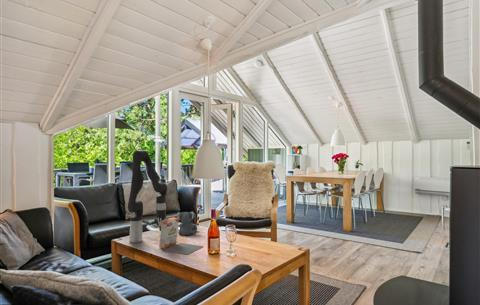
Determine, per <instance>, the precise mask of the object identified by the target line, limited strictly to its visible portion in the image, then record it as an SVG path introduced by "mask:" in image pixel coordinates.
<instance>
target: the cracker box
mask: <svg viewBox="0 0 480 305" xmlns="http://www.w3.org/2000/svg"><path fill="white" fill-rule="evenodd" d="M179 222H180V220H179V219H178V217H174V216H172V217H169V218H166V219H165V220H162V225H161V231H160V235H159V236H160V237H159V245H158V246H159V248H161V249H163V250H165V249H167V248H169V247H172V246H174V245H176V244H177V243H176V241H177V239H178V232H179V229H178V225H179V224H180V223H179Z"/></svg>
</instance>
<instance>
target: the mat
mask: <svg viewBox="0 0 480 305" xmlns="http://www.w3.org/2000/svg"><path fill="white" fill-rule="evenodd" d="M202 248H204V246H203V245H197V244H190V243H184V242H178V243H176V244H175V245H173V246H170V247H168V248H166V249H163V252H168V253H169V252H170V253H174V254H181V255H187V256H189V255H190V254H192V253H195V252H196V251H198V250H200V249H202Z"/></svg>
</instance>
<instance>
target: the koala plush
mask: <svg viewBox="0 0 480 305" xmlns="http://www.w3.org/2000/svg"><path fill="white" fill-rule="evenodd" d="M176 215H177V216H176V218H178V219H179V221H181V222H180V223H178V227H180V230H179V229H178V231H177V234H179V235H182V236H189V235H190V236H191V235H194V234H195V233H196V232H197V230H198V225H197V223H193V222H192V220H193V218H194V217H195V213H194V211H190V212H186V211H185V212H177V214H176Z"/></svg>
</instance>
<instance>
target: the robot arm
mask: <svg viewBox="0 0 480 305" xmlns="http://www.w3.org/2000/svg"><path fill="white" fill-rule="evenodd" d="M132 153H133V154H132V172H131V182H130V192H129V198H128V203H127V210H128V212H129V213H133V215H131V216H130V218H129V220H130V222H129V226H130V227H129V231H128V232H129V242H130V243H134V244H135V243H136V244H137V243H141V242H142V241H143V216H144V203H143V202H142V200H140V199H138V200H137V197H138V195H139V193H140V192H141V190H142V188H143V186H144V179H145V178H144V174H143V172H142V169H141V163H142V162H143V163H144V164H145V166H146V174H147V177H148V178H149V180H150V181H151V184H152V188H153V191H155V193H159V194H158V195H156V196H155V201H156V202H155V215H156V216H155V218H154V219H153V220H154V222H155V224H156V225H157V226H158V227H159V228H158V229H159V232H161V225H162V220H165V219H167V216H166V215H167V205H166V204H167V203H166V196H167V192H168V185H167V184H166V183H165V182H160V180H161V177H160V175H159V174H158V171H156V169H155V167H154V164H153V162H152V159H151V157H150V154H149V152H148V151H147V150H145V149H137V150H135V151H134V152H132Z"/></svg>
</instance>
